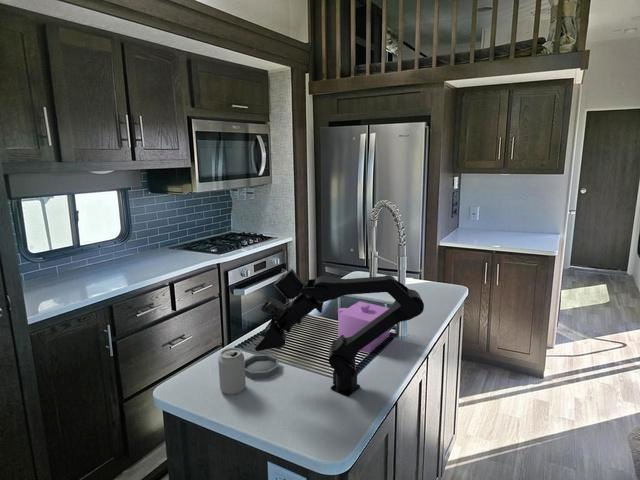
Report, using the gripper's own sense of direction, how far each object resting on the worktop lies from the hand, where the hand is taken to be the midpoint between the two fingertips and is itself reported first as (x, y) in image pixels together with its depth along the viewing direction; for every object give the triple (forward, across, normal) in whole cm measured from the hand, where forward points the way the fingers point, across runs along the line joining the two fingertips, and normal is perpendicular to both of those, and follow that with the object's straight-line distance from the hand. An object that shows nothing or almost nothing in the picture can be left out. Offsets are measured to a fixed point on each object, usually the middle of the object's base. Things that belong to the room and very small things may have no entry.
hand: (258, 342), depth 124 cm
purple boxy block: (-15, -31, +33) cm, 48 cm away
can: (+16, +2, +6) cm, 17 cm away
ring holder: (+11, -10, +9) cm, 18 cm away
